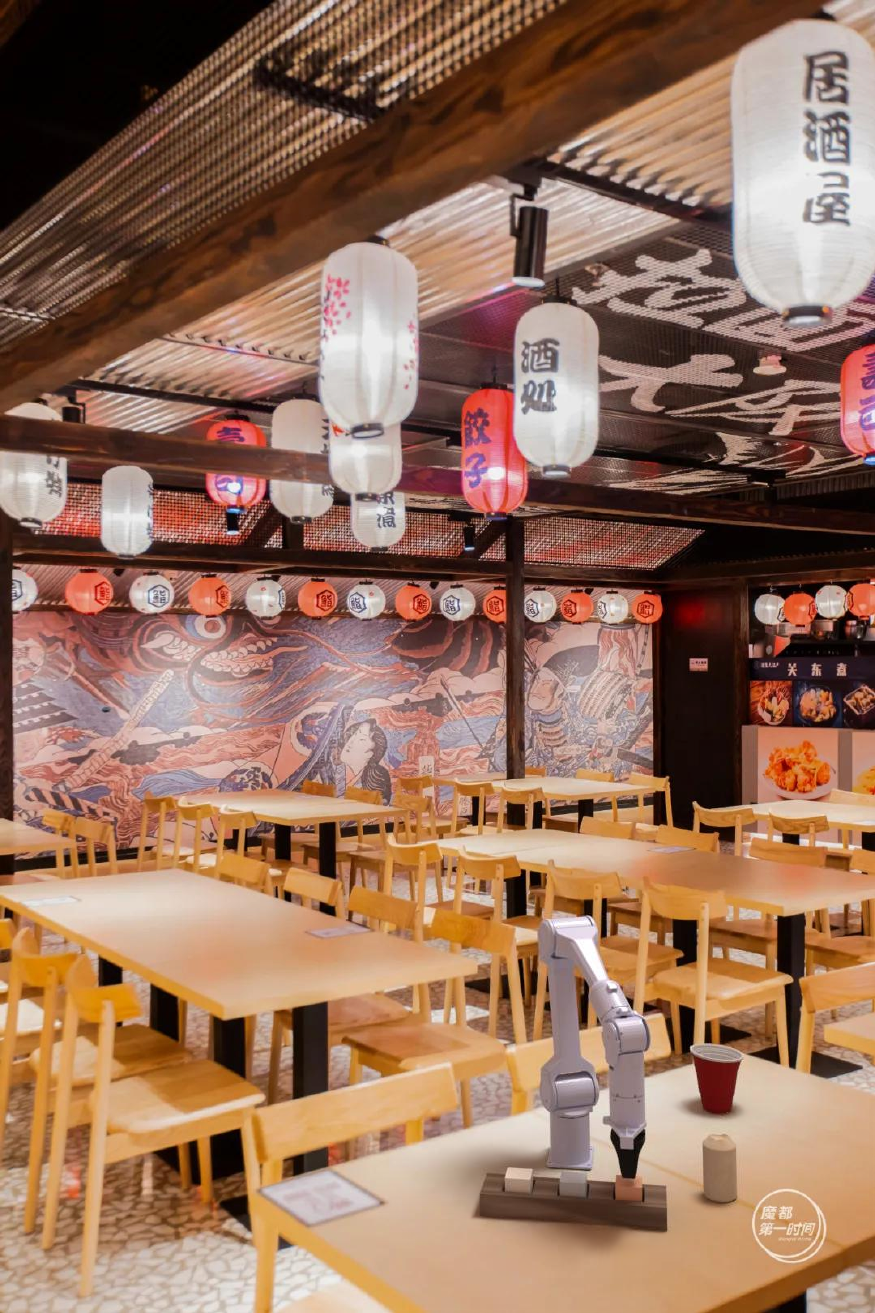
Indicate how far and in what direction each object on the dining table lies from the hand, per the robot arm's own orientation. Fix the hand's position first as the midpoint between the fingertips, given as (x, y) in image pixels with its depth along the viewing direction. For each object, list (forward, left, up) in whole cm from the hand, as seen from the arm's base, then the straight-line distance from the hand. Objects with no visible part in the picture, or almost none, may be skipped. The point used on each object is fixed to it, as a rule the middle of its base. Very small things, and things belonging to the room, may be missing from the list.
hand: (628, 1177), depth 177 cm
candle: (-10, +15, -6) cm, 19 cm away
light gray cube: (0, -9, -4) cm, 10 cm away
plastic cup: (-50, +17, -6) cm, 53 cm away
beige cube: (0, -18, -4) cm, 18 cm away
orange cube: (0, 0, -4) cm, 4 cm away
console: (0, -9, -6) cm, 11 cm away
